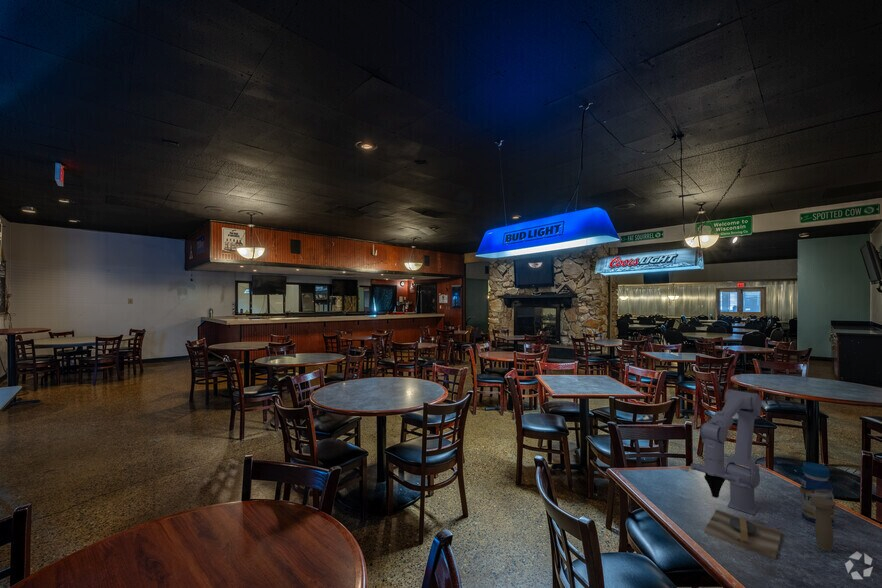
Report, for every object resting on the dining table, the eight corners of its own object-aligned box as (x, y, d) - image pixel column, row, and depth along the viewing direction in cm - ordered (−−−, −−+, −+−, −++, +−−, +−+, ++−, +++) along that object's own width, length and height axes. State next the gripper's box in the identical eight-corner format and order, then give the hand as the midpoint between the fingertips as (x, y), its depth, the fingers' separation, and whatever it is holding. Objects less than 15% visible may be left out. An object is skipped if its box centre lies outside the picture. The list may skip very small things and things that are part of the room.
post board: (716, 512, 137) (716, 507, 137) (781, 534, 124) (781, 528, 124) (704, 533, 125) (704, 527, 125) (775, 559, 111) (775, 552, 111)
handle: (841, 552, 115) (839, 503, 115) (827, 555, 113) (825, 506, 114) (822, 542, 119) (820, 495, 120) (808, 546, 118) (806, 498, 118)
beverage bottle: (833, 522, 131) (831, 465, 131) (836, 532, 125) (833, 473, 125) (800, 513, 136) (798, 458, 137) (801, 523, 130) (799, 466, 131)
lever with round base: (729, 518, 129) (729, 510, 129) (755, 525, 125) (755, 516, 125) (730, 536, 119) (730, 526, 119) (759, 544, 115) (758, 534, 115)
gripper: (686, 454, 135) (688, 491, 134) (735, 468, 123) (736, 509, 123) (694, 449, 139) (695, 485, 138) (742, 462, 127) (743, 502, 127)
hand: (715, 496), depth 131 cm, fingers closed
